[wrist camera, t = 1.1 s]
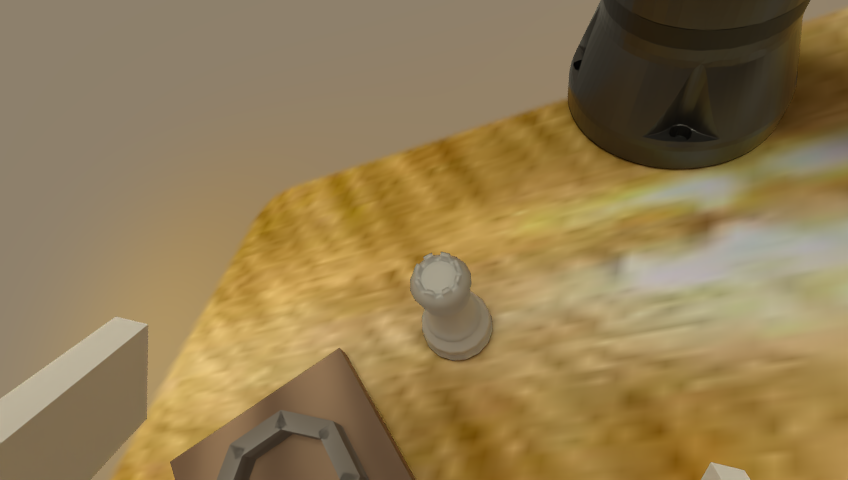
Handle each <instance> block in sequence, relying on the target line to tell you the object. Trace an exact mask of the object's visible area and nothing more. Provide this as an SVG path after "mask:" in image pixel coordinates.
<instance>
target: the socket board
mask: <svg viewBox="0 0 848 480" xmlns="http://www.w3.org/2000/svg"><path fill="white" fill-rule="evenodd" d="M170 463H171V467H172V470H173V474H174V477H175V480H415V478H414V476H413V475H412V473H411V471H410V469H409V467H408V466H407V464H406V462H405V460H404V458H403V456H402V455H401V453H400V451H399V449H398V447H397V446H396V444H395V442H394V440H393V438H392V437H391V435H390V433H389V431H388V429H387V428H386V426H385V424H384V422H383V420H382V419H381V417H380V415H379V413H378V411H377V410H376V408H375V406H374V404H373V402H372V401H371V399H370V397H369V395H368V393H367V392H366V390H365V388H364V386H363V384H362V383H361V381H360V379H359V377H358V375H357V374H356V372H355V370H354V368H353V366H352V365H351V363H350V361H349V359H348V357H347V355H346V354H345V353H344V352H343V351H342V350H341V349H340V348H339V349H337V350H336V351H334V352H333V353H331V354H330V355H328V356H327V357H325V358H324V359H322V360H321V361H319V362H318V363H316V364H315V365H313V366H312V367H310V368H309V369H307V370H306V371H304V372H303V373H301V374H300V375H298V376H297V377H296V378H294V379H293V380H291V381H290V382H288V383H287V384H285V385H284V386H282V387H281V388H279V389H278V390H276V391H275V392H273V393H272V394H270V395H269V396H267V397H266V398H264V399H263V400H261V401H260V402H258V403H257V404H255V405H254V406H252V407H251V408H249V409H248V410H246V411H245V412H243V413H242V414H240V415H239V416H237V417H236V418H234V419H233V420H232V421H230V422H229V423H227V424H226V425H224V426H223V427H221V428H220V429H218V430H217V431H215V432H214V433H212V434H211V435H209V436H208V437H206V438H205V439H203V440H202V441H200V442H199V443H197V444H196V445H194V446H193V447H191V448H190V449H188V450H187V451H185V452H184V453H182V454H181V455H179V456H178V457H176V458H175V459H173V460H172V461H171V462H170Z"/></svg>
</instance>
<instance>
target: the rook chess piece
mask: <svg viewBox="0 0 848 480" xmlns="http://www.w3.org/2000/svg"><path fill="white" fill-rule="evenodd" d="M470 287H471V273H470V271H469V269H468V268H467V266H466V264H465V263H464V262H463V261H461V260H460V259H458V258H457V257H455V256H451V255H450V254H449V253H445V252H441V255H432V253H430V254H428V255H426V256H424V260H423V261H422V262H421V263H420V264H416V266H415V269H414V271H413V274H412V276H411V279H410V291H411V293H412V295H413V297H414V299H415V301H417V302H418V303H419V304H420V305H421V306H423V307H424V309H425V310H424V313H423V315H422V331H423V333H424V337H425V339H426V341H427V343H428V346H429V347H430V348H431V349H432V350H433V351H434V352H435V353H436V354H438V355H439V356H441V357H444V358H447V359H450V360H463V359H468V358H470V357H472V356H474V355H476V354H478V353H480V351H481V350H482V349H483V348H484V347H485V346H486V345H487V343H488V342H489V339H490V336H491V333H492V330H493V328H492V317H491V315H490V313H489V310H488V308H487V307H486V305H485V303H484V301H483V300H482V299H481V298H479V297H478V296H477V295H475V294H474V293H473V292H471V291H470Z"/></svg>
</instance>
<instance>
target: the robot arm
mask: <svg viewBox="0 0 848 480" xmlns="http://www.w3.org/2000/svg"><path fill="white" fill-rule="evenodd" d="M809 2H810V0H601V1H600V3H599V5H598V7H597V9H596V11H595V14H594V15H593V17H592V19H591V21H590V24H589V26H588V28H587V30H586V32H585V34H584V36H583V38H582V40H581V42H580V45H579V46H578V48H577V50H576V53H575V55H574V57H573V60H572V63H571V67H570V73H569V87H568V103H569V108H570V111H571V114H572V116H573V118H574V120H575V122H576V123H577V125H578V126H579V128H580V129H581V130H582V131H583V132H584V133H585V134H586V136H587V137H589V138H590V139H591V140H592V141H593V142H594V143H596V144H597V145H598V146H600V147H602V148H603V149H605V150H606V151H608V152H610V153H612V154H614V155H616V156H618V157H621V158H623V159H626V160H629V161H632V162H635V163H639V164H643V165H648V166H653V167H660V168H673V169H687V168H699V167H706V166H711V165H716V164H720V163H723V162H726V161H729V160H732V159H735V158H737V157H739V156H742V155H744V154H746V153H747V152H749V151H751V150H752V149H754V148H756V147H757V146H758V145H760V144H761V143H762V142H763V141H764V140H765V139H767V138H768V136H769V135H770V134H771V133H772V132H773V131H774V129H775V128H776V126H777V125H778V123H779V121H780V119H781V118H782V116H783V114H784V113H785V111H786V109H787V107H788V106H789V104H790V102H791V100H792V97H793V94H794V91H795V88H796V83H797V69H798V61H799V51H800V41H801V30H802V18H803V14H804V12H805V9H806V7H807V6H808V4H809ZM147 365H148V324H145V323H140V322H136V321H132V320H128V319H124V318H120V317H115V318H113V319H112V320H110V321H109V322H108V323H106V324H105V325H103V326H102V327H100V328H99V329H98V330H96V331H95V332H93V333H92V334H91V335H89V336H88V337H86V338H85V339H84V340H82V341H81V342H79V343H78V344H77V345H75V346H74V347H72V348H71V349H70V350H68V351H67V352H65V353H64V354H63V355H61V356H60V357H58V358H57V359H56V360H54V361H53V362H51V363H50V364H48V365H47V366H46V367H44V368H43V369H42V370H40V371H39V372H38V373H36V374H34V376H32V377H30V378H29V379H27V380H26V381H25V382H23V383H22V384H20V385H19V386H18V387H16V388H15V389H13V390H12V391H11V392H9V393H8V394H6V395H5V396H4V397H2V398H1V399H0V480H91V479H92V477H93V476H94V475H95V474H96V473H97V472H98V471H99V470H100V469H101V468H102V466H104V465H105V463H106V462H107V461H108V460H109V459H110V458H111V457H112V456H113V455H114V454H115V453H116V451H117V450H118V449H119V448H120V447H121V446H122V445H123V444H124V443H125V442H126V441H127V439H128V438H129V437H130V436H131V435H132V434H133V433H134V432H135V431H136V430H137V429H138V427H139V426H140V425H141V424H142V423H143V422H144V421H145V420H146V419H147ZM701 480H750V478H749V477H748V475H747V474H746V472H745V470H741V469H737V468H733V467H729V466H725V465H721V464H717V463H713V462H711V463H710V465H709V466H708V468H707V470H706V472H705V473H704V475H703V477H702V479H701Z"/></svg>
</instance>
